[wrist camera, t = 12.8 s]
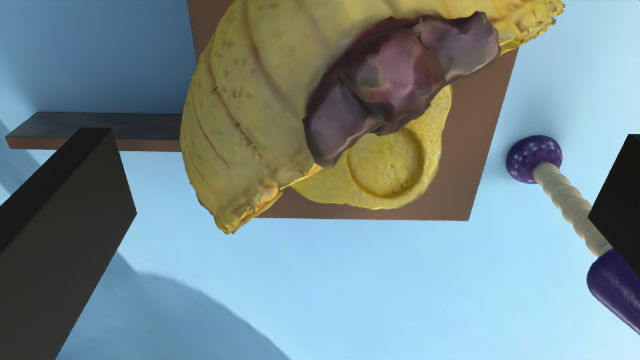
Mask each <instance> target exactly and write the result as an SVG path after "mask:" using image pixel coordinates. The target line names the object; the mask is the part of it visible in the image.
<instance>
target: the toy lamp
mask: <svg viewBox="0 0 640 360" xmlns="http://www.w3.org/2000/svg"><path fill="white" fill-rule="evenodd" d="M562 158H563V157H562V151H561V148H560V146H559V145H558V143H557V142H556V141H555V140H554V139H552V138H550V137H547V136H541V135H539V136H532V137H529V138H526V139H524V140H522V141H520V142H519V143H517V144H516V145H515V146H514V147H513V148H512V149H511V151H510V152H509V154H508V157H507V159H506V168H507V171H508V172H509V174H510V175H511V176H512V177H513V178H515V179H516V180H518V181H520V182H522V183H527V184H537V183H538V184H539V185H540V186H542V188H543V190H544V192H545V193H546V194H547V196H549V197H550V198H551V199H552V202H553V204H554V205H555V207H556V208H558V209H559V210H561V212H562V215H563V217H564V218H565V220H566V221H567V222H568V223H570V224H572V225H573V228H574V230H575V232H576V233H577V235H578V236H579V237H581V238H582V239H584V240H585V242H586V245H587V247H588V249H589V250H590V251H591V252H592V253H593V254H594V255H596V256H598V257H599V258H598V259H597V260H596V261H595V262H594V263H593V264H592V265H591V267H590V269H589V271H588V274H587V285H588V288H589V291H590V292H591V293H592V295H593V296H594V297H595V298H596V299H597V300H598V301H599V302H601V303H602V304H603V305H604V306H605V307H607V308H608V309H609V310H610V311H611V312H613V313H614V314H615V315H616V316H617V317H618V318H620V319H621V320H622V321H623V322H624V323H626V324H627V325H628V326H629V327H631V328H632V329H633V330H634V331H635V332H637V333H638V334H639V335H640V279H639V278H638V276H637V275H636V274H635V273H634V272H633V271H632V269H631V268H630V267H629V266H628V265H627V263H626V262H625V261H624V260H623V259H622V258H621V256H620V255H619V254H618V253H617V252H616V251H615V249H614V248H613V247H612V246H611V245H610V244H609V242H608V241H607V240H606V239H605V238H604V237H603V235H602V234H601V233H600V232H599V231H598V229H597V228H596V227H595V226H594V225H593V224H592V222H591V221H590V220H589V219H588V218H587V217H588V215H589V213H590V211H591V209H592V206H591V204H590V203H589V202H588V201H587V200H585V199H583V198H582V196H581V193H580V192H579V191H578V190H577V189H576V188H575V187H573V186H571V184H570V182H569V180H568V179H567V178H566V177H565V176H563V175H562V174H561V173H560V170H559V168H560V166H561V163H562Z"/></svg>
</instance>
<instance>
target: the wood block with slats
mask: <svg viewBox="0 0 640 360" xmlns="http://www.w3.org/2000/svg"><path fill="white" fill-rule="evenodd" d="M234 1H235V0H187V2H188V8H189V15H190V21H191V28H192V35H193V41H194V48H195V54H196V61H197V64H198V61H199V57H200V55H201V53H202V52H203V51H204V50H205V49H206V47H207V45H208V43H209V41H210V39H211V38H212V36H213V35H214V33H215V31H216V28H217V25H218V24H219V22H220V20H221V19H222V17H223V16H224V14H225V13H226V11H227V10H228V8H229V7H230V6H231V4H232V3H233V2H234ZM518 49H519V47H518V48H515V49H512V50H510V51H508V52H506V53H504V54H503V55H501V56H499V57H498V60H497V61H496V62H495V63H494V64H493V65H492V66H490V67H488V68H487V69H485V70H483V71H481V72H480V73H478V74H476V75H473V76H471V77H468V78H465V79H463V80H460V81H457V82H454V83H452V84H451V85H452V99H451V100H452V101H451V108H450V110H449V113H448V116H447V118H446V121H445V127H444V130H443V131H442V135H441V136H442V151H441V159H440V161H439V170H438V172H437V174H436V176H435V178H434V179H433V180H432V181H431V183H430V185H428V188H427V189H426V191H425V193H424V194H422V195H421V196H420V197H419V198H418V199H416V200H415V201H414V202H412V203H407V204H405V205H404V206H402V208H400V207H398V208H397V209H395V208H392V209H387V210H386V209H384V208H382V209H377V210H371V209H367V208H364V207H358V206H350V205H348V204H347V203H344V204H343V205H342V204H336V203H328V204H327V203H320V202H314V201H311V200H310V199H307V198H306V197H304V196H302V195H300V194H299V193H298V192H296V191H295V190H294V189H292V188H291V187H289V186H288V187H285V188H284V192H283V194H282V195H281V197H279V198H278V199H277V201H276V202H274V203H273V204H272V205H271V207H270V208H268V209H267V210H265V211H263V212H262V213H260V214H259V215H258V217H254V218H295V219H358V220H421V221H468V220H469V217H470V214H471V210H472V207H473V203H474V200H475V196H476V193H477V190H478V186H479V183H480V179H481V176H482V173H483V169H484V166H485V162H486V159H487V155H488V152H489V149H490V145H491V142H492V138H493V135H494V132H495V128H496V125H497V121H498V118H499V114H500V111H501V108H502V104H503V101H504V97H505V94H506V91H507V87H508V84H509V80H510V77H511V73H512V70H513V67H514V63H515V60H516V56H517V53H518ZM181 123H182V115H180V114H126V113H72V112H37V113H35V114H34V115H33V116H31V117H30V118H29V119H27V120H26V121H25V122H23V123H22V124H21V125H20V126H18V127H17V128H16V129H14V130H13V131H12V132H10V133H9V134H8V135H7V136H5V139H6V141H7V143H8V145H9V147H10V149H44V150H58V149H59V148H60V147H61V146H62V145H63V144H64V143H65V142H66V141H67V140H68V139H69V138H70V137H71V136H72V135H73V134H74V133H75V132H76V131H77V130H78V129H79V128H80V127H100V128H112V130H113V134H114V137H115V141H116V144H117V147H118V151H158V152H182V150H181V145H180V129H181Z"/></svg>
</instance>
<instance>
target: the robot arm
mask: <svg viewBox="0 0 640 360" xmlns="http://www.w3.org/2000/svg"><path fill="white" fill-rule="evenodd" d="M136 215H137V212H136V208H135V205H134V202H133V198H132V195H131V191H130V188H129V185H128V181H127V178H126V174H125V171H124V168H123V164H122V161H121V158H120V154H119V151H118V147H117V144H116V141H115V137H114V134H113V130H112V128H100V127H80V128H79V129H78V130H77V131H76V132H75V133H74V134H73V135H72V136H71V137H70V138H69V139H68V140H67V141H66V142H65V143H64V144H63V145H62V146H61V147H60V148H59V149H58V150H57V151H56V152H55V153H54V154H53V155H52V156H51V157H50V158H49V159H48V160H47V161H46V162H45V163H44V164H43V165H42V166H41V167H40V168H39V169H38V170H37V171H36V172H35V173H34V174H33V175H32V176H31V177H30V178H29V179H28V180H27V181H26V182H25V183H24V184H22V185H21V186H20V187H19V188H18V189H17V190H16V191H15V192H14V193H13V194H12V195H11V196H10V197H9V198H8V199H7V200H6V201H5V202H4V203H3V204H2V205H1V206H0V360H55V359H56V357H57V355H58V354H59V352H60V350H61V348H62V347H63V345H64V343H65V341H66V339H67V338H68V336H69V334H70V332H71V330H72V329H73V327H74V325H75V323H76V322H77V320H78V318H79V316H80V314H81V313H82V311H83V309H84V307H85V306H86V304H87V302H88V300H89V298H90V297H91V295H92V293H93V291H94V289H95V288H96V286H97V284H98V282H99V281H100V279H101V277H102V275H103V273H104V272H105V270H106V268H107V266H108V265H109V263H110V261H111V259H112V257H113V256H114V254H115V252H116V250H117V248H118V247H119V245H120V243H121V241H122V240H123V238H124V236H125V234H126V232H127V231H128V229H129V227H130V225H131V224H132V222H133V220H134V218H135V216H136ZM587 218H588V219H589V220H590V221H591V222H592V224H593V225H594V226H595V227H596V228H597V229H598V231H599V232H600V233H601V234H602V235H603V237H604V238H605V239H606V240H607V241H608V242H609V244H610V245H611V246H612V247H613V248H614V249H615V251H616V252H617V253H618V254H619V255H620V256H621V258H622V259H623V260H624V261H625V262H626V263H627V265H628V266H629V267H630V268H631V269H632V271H633V272H634V273H635V274H636V275H637V276H638V278H639V279H640V134H628V136H627V138H626V140H625V142H624V144H623V146H622V148H621V150H620V152H619V154H618V156H617V158H616V160H615V162H614V164H613V166H612V168H611V170H610V172H609V174H608V176H607V178H606V180H605V182H604V184H603V186H602V188H601V190H600V192H599V194H598V196H597V198H596V200H595V202H594V204H593V206H592V209H591V211H590V213H589V215H588V217H587Z"/></svg>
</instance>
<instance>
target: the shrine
mask: <svg viewBox="0 0 640 360" xmlns="http://www.w3.org/2000/svg"><path fill="white" fill-rule="evenodd" d="M563 8H565V4H563V3H562V1H561V0H235V1H234V2H233V3H232V4H231V6H230V7H229V8H228V10H227V11H226V13H225V14H224V16H223V17H222V19H221V20H220V22H219V24H218V25H217V28H216V31H215V33H214V35H213V36H212V38H211V39H210V41H209V43H208V45H207V47H206V49H205V50H204V51H203V52H202V53H201V55H200V57H199V61H198V64H197V67H196V71H195V72H194V74H193V76H192V77H190V79H191V81H192V82H191V84H190V87H189V91H188V93H187V97H186V100H185V104H184V108H183V115H182V123H181V129H180V145H181V150H182V155H183V160H184V164H185V169H186V172H187V175H188V178H189V180H190V184H191V185H192V186H193V188H194V190H195V191H196V196H197V198H198V201H199V203H200V204H201V205H202V206H203V207H204V208H206V209H207V210H208V211H209V212H210V214H211V215H213V216H214V220H215V223H216V225H217V227H218V228H219V229H220V230H222V231H223V232H224V233H225V234H230V233H232V234H234V232H235V231H237V230H238V229H239V227H241V226H242V225H244V224H246V223H247V222H249V221H250V220H251V219H252V218H254V217H258V215H259V214H260V213H262V212H263V211H265V210H267V209H268V208H270V207H271V205H272V204H273V203H274V202H276V201H277V199H278V198H279V197H281V195H282V194H283V192H284V188H285V187H288V186H289V187H291V188H292V189H294V190H295V191H296V192H298V193H299V194H300V195H302V196H304V197H306V198H307V199H310V200H311V201H314V202H320V203H327V204H328V203H336V204H342V205H343V204H344V203H347V204H348V205H350V206H358V207H364V208H367V209H371V210H377V209H382V208H384V209H386V210H387V209H392V208H395V209H397V208H398V207H400V208H402V206H404V205H405V204H407V203H412V202H414V201H415V200H416V199H418V198H419V197H420V196H421V195H422V194H424V193H425V191H426V189H427V188H428V185H430V183H431V181H432V180H433V179H434V178H435V176H436V174H437V172H438V170H439V161H440V159H441V151H442V136H441V135H442V131H443V130H444V127H445V121H446V118H447V116H448V113H449V110H450V108H451V101H452V100H451V99H452V85H451V84H452V83H454V82H457V81H460V80H463V79H465V78H468V77H471V76H473V75H476V74H478V73H480V72H481V71H483V70H485V69H487V68H488V67H490V66H492V65H493V64H494V63H495V62H496V61H497V60H498V57H499V56H501V55H503V54H504V53H506V52H508V51H510V50H512V49H515V48H518V47H519V46H521V45H522V44H525V43H527V42H529V41H530V40H531V39H535V38H536V37H537V36H539V35H541V34H543V33H545V32H546V31H547V29H548V28H549V27H550V26H552V25H554V24H555V23H556V19H554V18H553V17H552V16H558V15H560V14H561V13H563V12H564V10H563Z"/></svg>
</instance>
